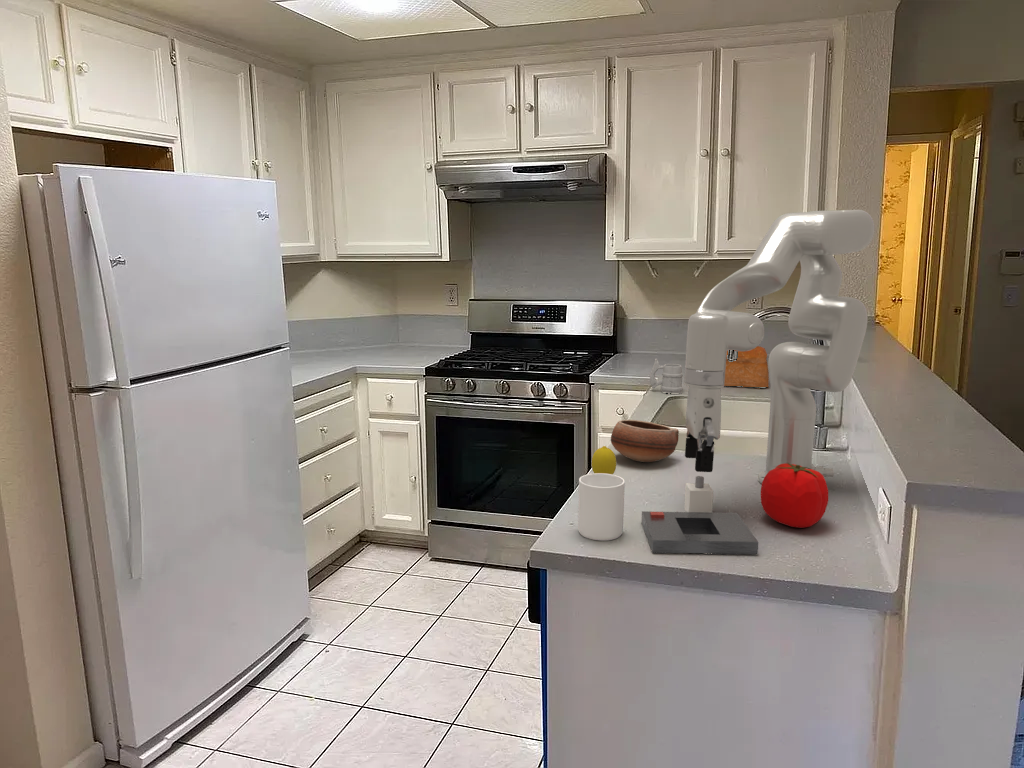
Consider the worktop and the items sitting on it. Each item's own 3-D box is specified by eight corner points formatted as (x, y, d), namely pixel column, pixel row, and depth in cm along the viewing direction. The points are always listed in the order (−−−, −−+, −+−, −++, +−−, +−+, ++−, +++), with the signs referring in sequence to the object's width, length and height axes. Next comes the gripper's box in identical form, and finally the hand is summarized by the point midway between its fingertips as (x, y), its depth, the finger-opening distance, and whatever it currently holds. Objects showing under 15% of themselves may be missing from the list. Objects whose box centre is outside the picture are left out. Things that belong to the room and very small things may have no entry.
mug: (682, 395, 264) (684, 361, 261) (648, 393, 266) (649, 360, 264) (682, 390, 271) (683, 358, 269) (649, 389, 273) (650, 356, 271)
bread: (696, 379, 294) (698, 341, 292) (768, 383, 286) (770, 344, 283) (693, 385, 281) (695, 345, 279) (768, 390, 273) (771, 349, 270)
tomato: (774, 536, 138) (779, 475, 136) (747, 510, 151) (750, 455, 149) (839, 534, 139) (844, 474, 136) (806, 509, 152) (810, 454, 150)
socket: (736, 524, 143) (737, 509, 143) (757, 555, 129) (758, 538, 129) (641, 523, 144) (641, 508, 143) (652, 553, 130) (653, 536, 129)
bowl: (688, 462, 183) (690, 422, 182) (645, 474, 174) (646, 432, 172) (640, 448, 196) (641, 411, 194) (597, 459, 186) (598, 419, 184)
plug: (706, 509, 151) (708, 473, 150) (711, 517, 147) (714, 481, 145) (684, 509, 151) (686, 473, 150) (688, 517, 147) (690, 480, 146)
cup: (576, 539, 136) (577, 486, 134) (580, 516, 147) (581, 466, 146) (622, 542, 135) (624, 488, 133) (623, 518, 146) (625, 468, 144)
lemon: (599, 475, 173) (600, 441, 172) (620, 480, 170) (621, 445, 168) (586, 480, 169) (587, 446, 167) (607, 485, 166) (608, 450, 164)
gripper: (735, 386, 135) (728, 478, 138) (713, 371, 152) (707, 453, 155) (694, 385, 135) (687, 476, 138) (676, 370, 153) (671, 452, 155)
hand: (698, 464), depth 147 cm, fingers open, 9 cm apart
